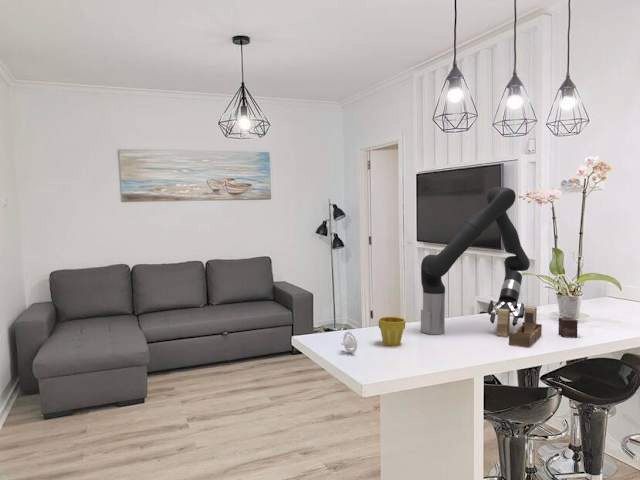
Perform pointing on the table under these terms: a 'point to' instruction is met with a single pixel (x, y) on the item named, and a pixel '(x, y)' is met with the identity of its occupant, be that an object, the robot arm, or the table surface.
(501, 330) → the block
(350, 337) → the ring around a ball
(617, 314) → the table surface
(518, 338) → the rail
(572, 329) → the box
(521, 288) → the candle
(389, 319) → the plant pot
